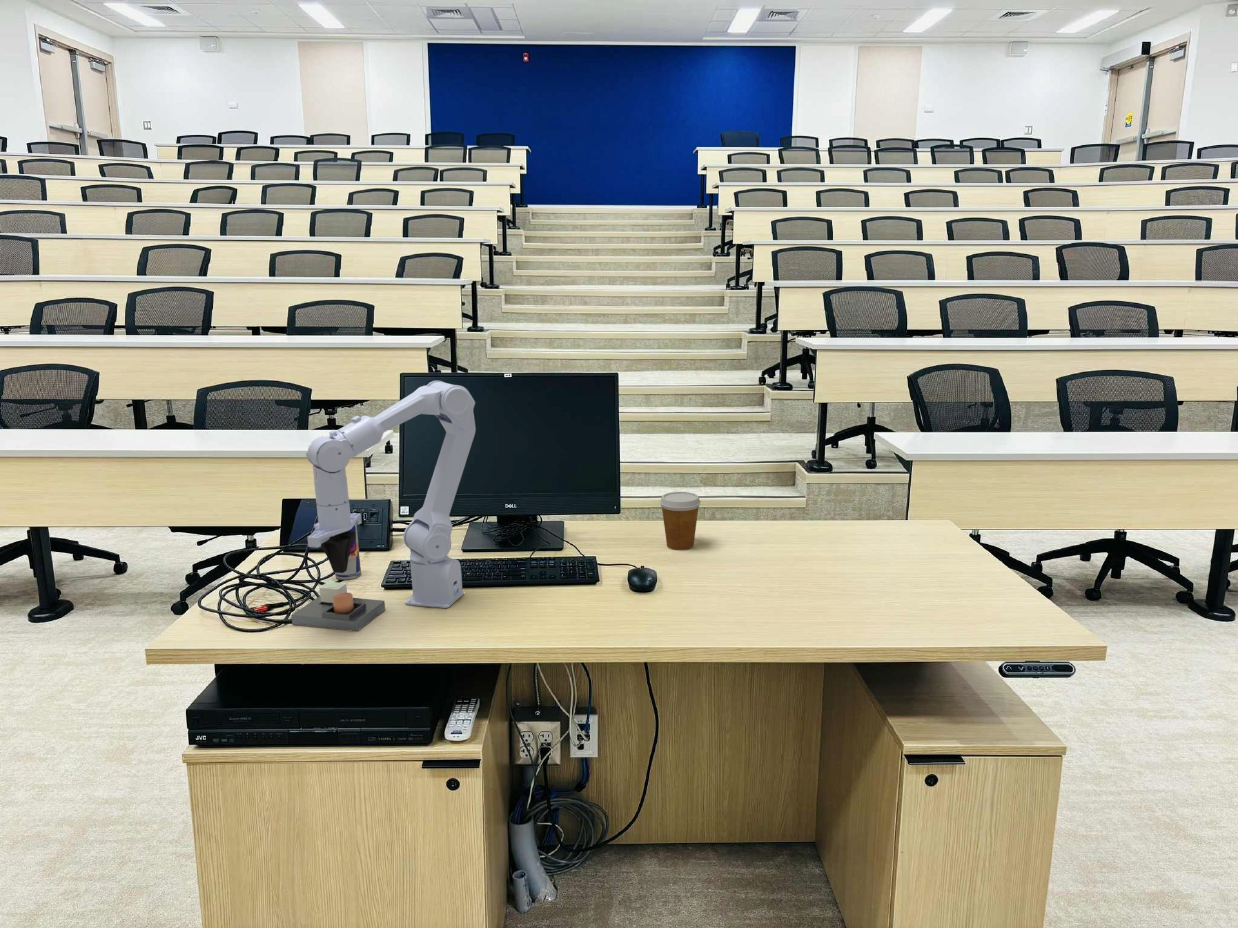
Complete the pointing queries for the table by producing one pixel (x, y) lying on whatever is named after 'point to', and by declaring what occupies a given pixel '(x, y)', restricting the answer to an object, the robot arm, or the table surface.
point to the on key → (331, 590)
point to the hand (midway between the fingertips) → (340, 571)
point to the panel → (338, 614)
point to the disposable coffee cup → (680, 518)
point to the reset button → (343, 603)
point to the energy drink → (352, 560)
